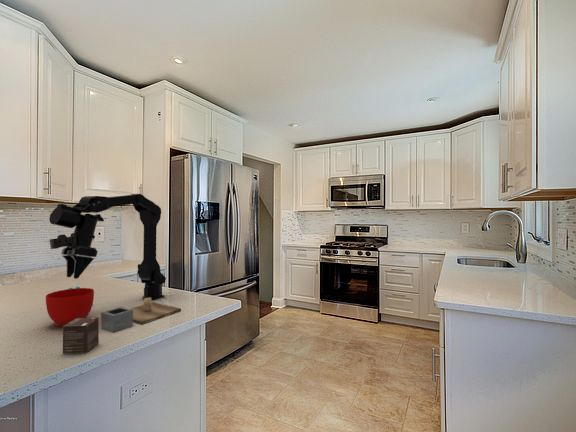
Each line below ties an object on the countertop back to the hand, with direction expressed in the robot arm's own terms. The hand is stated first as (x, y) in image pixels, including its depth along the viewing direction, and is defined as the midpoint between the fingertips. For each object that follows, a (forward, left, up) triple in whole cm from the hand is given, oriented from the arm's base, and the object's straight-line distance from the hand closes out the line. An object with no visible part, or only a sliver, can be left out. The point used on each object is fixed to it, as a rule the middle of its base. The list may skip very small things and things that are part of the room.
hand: (72, 277), depth 100 cm
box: (+9, +23, -15) cm, 29 cm away
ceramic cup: (-1, -2, -15) cm, 15 cm away
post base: (-18, +13, -15) cm, 27 cm away
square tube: (-5, +16, -15) cm, 23 cm away
